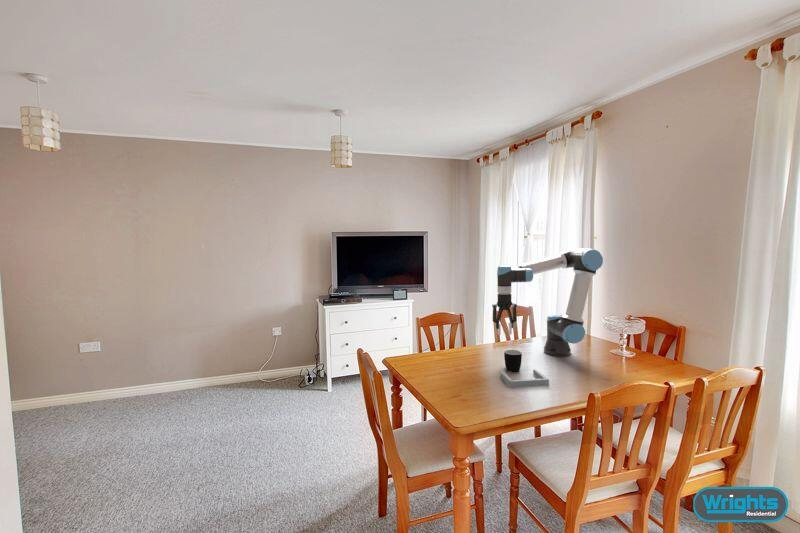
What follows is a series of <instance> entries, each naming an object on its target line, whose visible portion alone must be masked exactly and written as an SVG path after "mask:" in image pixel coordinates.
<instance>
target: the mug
mask: <svg viewBox="0 0 800 533" xmlns="http://www.w3.org/2000/svg"><path fill="white" fill-rule="evenodd" d="M522 357H523V354H522V351H520V350H517V349H506V350H504V352H503V358H504V366H505V370H506V371H507V372H509V373H519V372H520V370H521V367H522V366H521V365H522Z"/></svg>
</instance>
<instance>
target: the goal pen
mask: <svg viewBox="0 0 800 533" xmlns="http://www.w3.org/2000/svg"><path fill="white" fill-rule="evenodd" d="M532 373H533V374H532V375H533V377H535V378H532V379H531V378H528V379H515V380H514V379H512V378H510V377H509V375H508V374H507V373H506V372H505V371H504V370H502V371H499V376H500V379H502V381H503V382H504V383H505V384H506V385H507V386H508V387H509V388H511V389H512V388H513V389H514V388H529V387H530V388H531V387H546V386H550V379H549V378H548V377H547V376H545V375H544V374H542V373H541V372H540V371H539V370H538V369H534V368H533V370H532Z"/></svg>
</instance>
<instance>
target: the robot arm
mask: <svg viewBox="0 0 800 533" xmlns="http://www.w3.org/2000/svg"><path fill="white" fill-rule="evenodd" d="M603 264H604V258H603V256H602V253H600V251H599V250H596V249H594V248H590V247H589V248H581V247H576V248H572V249H570V250H566V251H563V252H559V253H558V255H555V256H549V257H545V258H542V259H538V260H534V261H530V262H526V263H522V264H518V265H515V266H511V265H499V266H497V271H496V272H497V273H496V275H497V276H496V277H497V301H496V303H494V304H492V305H491V306H492V322H493V323H495V328H496V330H497V335H498V336H501V328H502V327H501V325H502V324H501V322H500V321H501V318H502V314H503V312H504V311H506V312H507V317H508V319H509V321H508V334H509V335H512V333H513V329H514V323H516V322H517V307H518V304H517V303H513V302H512V284H513V283H529V282H533V280H534V275H537V274H541V273H545V272H548V271H549V272H550V271H553V270H557V269H567V268H568V269H569V268H573V269H572V270H573V272H574V277H573V281H572V286H571V290H570V294H569V299H568V302H567V306H566V311H565V314H551V315H548V316H547V319H546V342H545V344H544V347H543V352H544V353H545V354H546V355H549V356H555V357H568V356H570V355H571V354H572V352H571V351H572V350H571V347H570V344H572V345H573V344H579V343H580V342H582V340H584V338H585V336H586V329H585V327H584V319H583V315H584V314H583V313H584V310H585V306H586V301H587V298H588V293H589V290H590V285H591V281H592V277H594V276H595V275H596V274H597V271H598V270H599V269H601V267H602V266H603ZM511 307H512V310H511ZM497 308H498V310H497ZM497 311H498V312H497ZM511 311H512V312H511ZM569 343H570V344H569Z"/></svg>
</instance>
